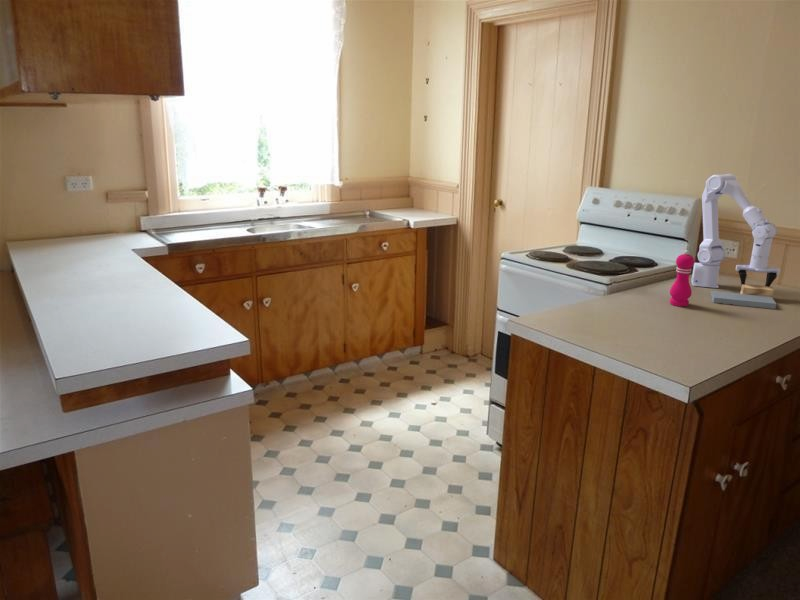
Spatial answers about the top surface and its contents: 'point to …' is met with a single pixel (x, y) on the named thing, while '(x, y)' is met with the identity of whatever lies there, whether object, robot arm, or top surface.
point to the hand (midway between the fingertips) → (753, 290)
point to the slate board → (743, 299)
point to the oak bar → (757, 290)
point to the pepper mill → (682, 280)
